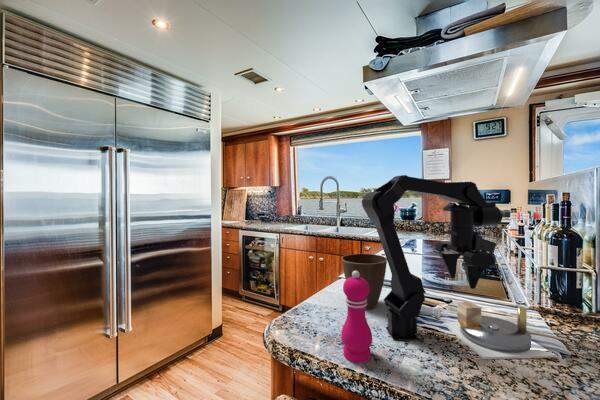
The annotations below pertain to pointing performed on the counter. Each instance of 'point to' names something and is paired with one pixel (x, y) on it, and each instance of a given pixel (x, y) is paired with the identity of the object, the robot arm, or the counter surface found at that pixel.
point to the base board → (491, 353)
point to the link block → (469, 313)
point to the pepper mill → (356, 320)
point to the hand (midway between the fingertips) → (462, 282)
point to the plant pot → (367, 273)
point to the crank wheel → (500, 333)
